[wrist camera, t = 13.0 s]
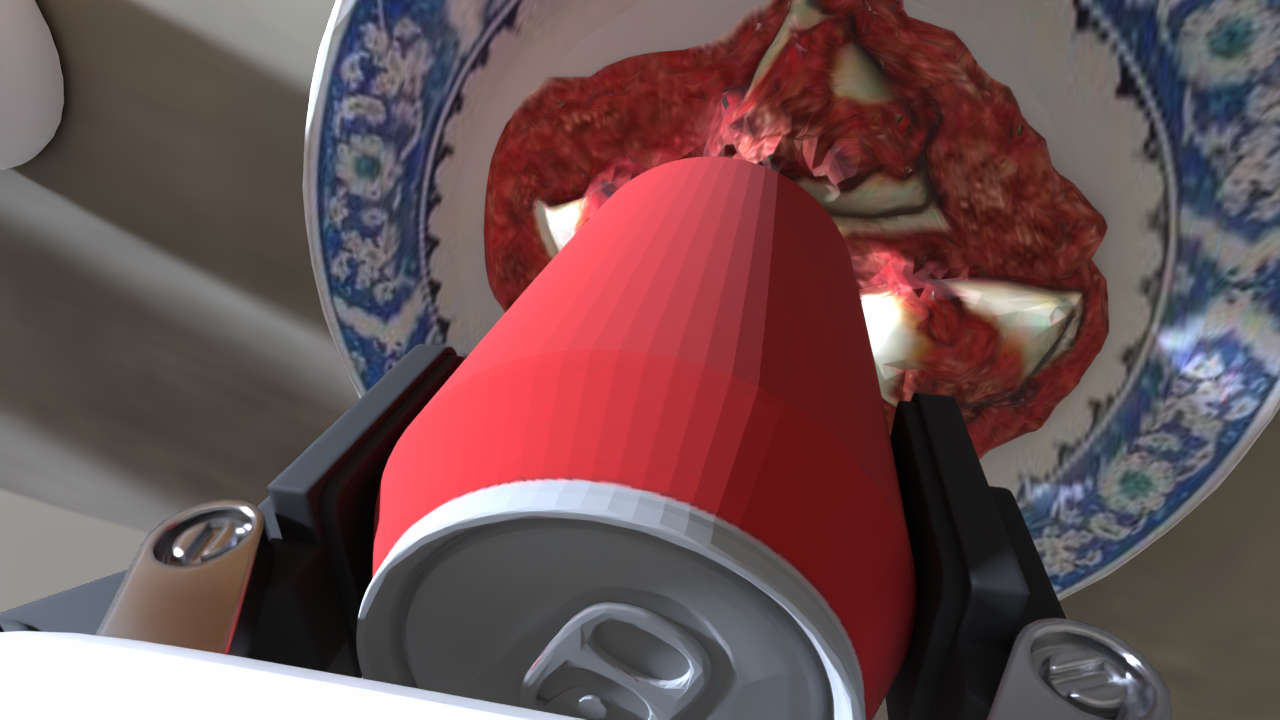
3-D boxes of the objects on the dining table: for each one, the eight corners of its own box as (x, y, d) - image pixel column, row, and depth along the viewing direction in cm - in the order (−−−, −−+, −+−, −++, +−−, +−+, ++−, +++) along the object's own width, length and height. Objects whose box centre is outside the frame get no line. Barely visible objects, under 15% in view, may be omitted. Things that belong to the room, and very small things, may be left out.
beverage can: (540, 319, 19) (235, 721, 9) (662, 89, 16) (404, 289, 5) (753, 443, 20) (707, 962, 9) (915, 244, 16) (1128, 704, 6)
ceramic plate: (1101, -709, 12) (1189, -909, 9) (1395, 471, 20) (1486, 545, 17) (182, 113, 22) (99, 131, 19) (623, 673, 30) (606, 739, 27)
